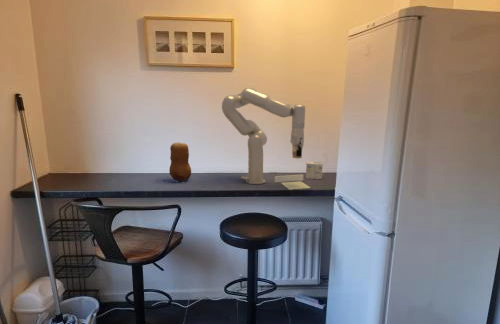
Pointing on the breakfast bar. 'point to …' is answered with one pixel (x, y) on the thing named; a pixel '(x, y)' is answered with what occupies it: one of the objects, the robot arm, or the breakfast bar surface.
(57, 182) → the breakfast bar surface
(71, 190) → the breakfast bar surface
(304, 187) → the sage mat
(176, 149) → the butternut squash
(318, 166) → the light bulb box
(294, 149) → the birch cylinder
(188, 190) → the breakfast bar surface
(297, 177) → the cream plank
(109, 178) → the breakfast bar surface
